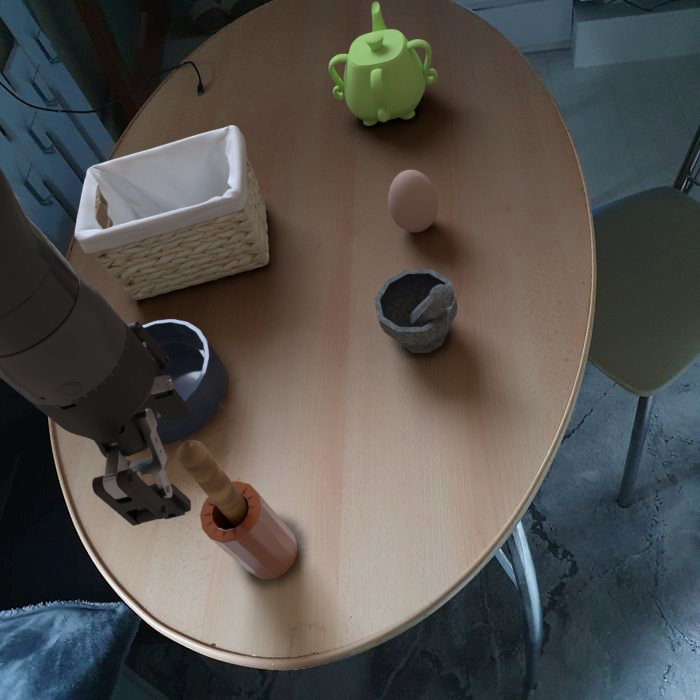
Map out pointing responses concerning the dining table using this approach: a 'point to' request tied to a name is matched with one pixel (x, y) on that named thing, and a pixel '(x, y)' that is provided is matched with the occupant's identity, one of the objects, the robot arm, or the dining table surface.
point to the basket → (175, 214)
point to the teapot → (383, 74)
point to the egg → (413, 201)
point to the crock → (252, 535)
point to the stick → (213, 480)
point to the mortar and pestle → (417, 309)
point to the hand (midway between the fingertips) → (180, 461)
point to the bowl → (189, 376)
